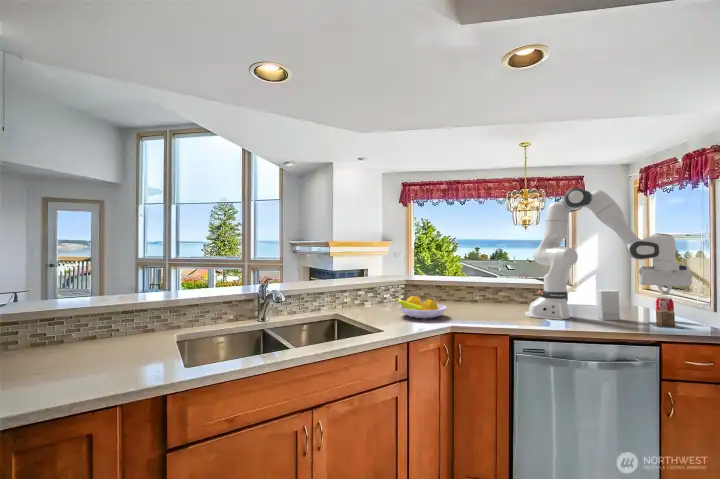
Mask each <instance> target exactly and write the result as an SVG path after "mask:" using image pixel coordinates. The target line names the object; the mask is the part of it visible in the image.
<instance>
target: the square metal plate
mask: <svg viewBox="0 0 720 479" xmlns="http://www.w3.org/2000/svg"><path fill="white" fill-rule="evenodd" d="M648 324H651V325H653V326H654V327H657V328H663V327H665V328H666V329H668V328H669V329H681V330H682V329H685V327H683V326H680V325H678V324H676V323H675V326H661V325H659V324H657V323H656V321H653V322H652V321H648Z"/></svg>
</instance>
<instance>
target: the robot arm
mask: <svg viewBox="0 0 720 479" xmlns="http://www.w3.org/2000/svg"><path fill="white" fill-rule="evenodd" d="M582 208H587V209H588V210H590V211H591V212H592V214H594V216H595V217H596V218H597V219H598V220H599V221H600V222H602V224H604V225H605V226H607V227H608V228H610V229H611V230H612V231H614V233H616V235H617V236H618V237H619V238H620V239H621V240H622V242H623V243H624V244H625V246H626V250H627V253H628V255H629V256H630V257H631V258H632V259H634V260H641V261H642V260H647V259H652V266H651V265H650V266H649V265H647V266H645V265H643V266H642V267H640V268H639V269H638V273H639V276H638V283H639V285H642V286H657V289H658V290H659V291H660V292H659V293H660V295H662V296H663V295H664V296H669V295H670V292H671V290H672V289H673V286H674V287H676V286H677V287H690V286H691V285H692V284H693V279H692V273H691V272H690V271H689V270H690V266H689V265H684V264H680V263H678V262H677V258H676V252H677V246H676V245H677V243H676V239H675V237H674V236H673V235H671V234H668V233H657V232H656V233H654V234H652V235H650V236H648V237H645V238H643V239H641V238H639V237H638V236H637V235H636V234H635V232H634V231H633V230H632V229H631V228H630V226H629V225H628V224H627V221H626V219H625V214H624V212H623V210H622V208H621V207H620V205H619V204H618V203H617V202H616V201H615V199H613V197H611V196H610V195H609V194H608V193H607V192H605V191H604V190H601V189H597V190H593V191H591V192H590V191H589V190H585V189H583V188H579V187H573V188H570V189H569V190H567V191H566V192H565V193H564V196H563V198H562V199H561V200H560V201H554V202H550V204H549V205H548V206H547V210H546V213H545V223H544V231H543V232H544V234H543V238H542V240H541V242H540V244H539V246H538V247H537V248H536V249H535V250H534V251H533V254H532V255H533V256H532V258H533V260H534V262H536V263H538V265H539V264H540V265H542V266H550V267H549V268H550V269H549V271H548V273H546V274H545V275H544V276H543V290H538V291H537V294H538V295H539V297H538V298H536V299H535V300H534V301H531V303H530V304H529V308H528V310H527V311H525V312H524V315H525V316H526V317H528V318H534V319H535V318H536V319H547V320H558V321H560V320H561V321H562V320H567V319H570V318H571V315H570V312H569V306H568V300H569V294H568V291H567V285H568V284H567V283H568V282H567V279H568V278H567V277H568V275H569V272H570V269H571V268H572V267H573V266H574V265H576V263H577V261H578V259H579V257H578V253H577V251H576V250H575V249H574V248H573V247H568V246H560V244H561V242H562V241H563V240H564V239H566V238H567V236H568V228H569V226H568V225H569V214H570V213H573V212H577V211H580V210H581V209H582ZM664 286H666V290H664V289H663V288H664Z"/></svg>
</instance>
